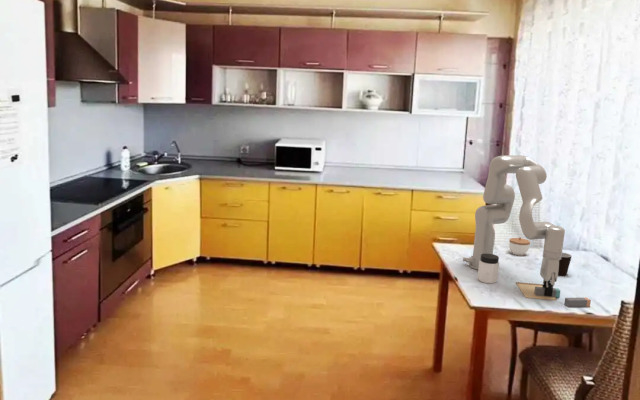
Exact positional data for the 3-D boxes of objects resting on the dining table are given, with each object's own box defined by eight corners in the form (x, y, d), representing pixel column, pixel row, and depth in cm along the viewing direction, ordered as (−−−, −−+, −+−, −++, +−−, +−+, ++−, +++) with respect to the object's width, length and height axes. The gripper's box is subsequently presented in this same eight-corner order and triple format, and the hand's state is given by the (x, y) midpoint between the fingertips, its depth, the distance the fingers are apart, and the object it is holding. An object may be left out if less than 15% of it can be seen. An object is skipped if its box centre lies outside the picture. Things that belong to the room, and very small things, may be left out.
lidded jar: (504, 250, 320) (506, 234, 318) (522, 251, 321) (525, 235, 320) (513, 256, 310) (515, 239, 308) (531, 257, 311) (534, 240, 309)
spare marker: (568, 307, 239) (569, 300, 239) (564, 304, 242) (565, 297, 242) (589, 306, 241) (590, 300, 241) (585, 304, 244) (586, 297, 243)
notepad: (525, 297, 248) (526, 296, 248) (515, 283, 266) (515, 282, 266) (556, 300, 247) (556, 299, 247) (544, 285, 265) (544, 284, 265)
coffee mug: (570, 277, 279) (573, 257, 277) (552, 275, 280) (554, 256, 278) (565, 270, 290) (568, 251, 288) (547, 268, 292) (550, 249, 290)
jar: (476, 281, 266) (479, 257, 263) (477, 276, 273) (480, 252, 271) (496, 284, 263) (499, 259, 261) (497, 279, 271) (499, 255, 268)
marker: (535, 295, 250) (536, 288, 250) (534, 292, 253) (535, 286, 253) (559, 297, 249) (560, 290, 249) (557, 295, 252) (558, 288, 252)
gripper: (538, 248, 256) (533, 287, 260) (548, 259, 240) (543, 300, 244) (555, 249, 255) (550, 288, 259) (567, 260, 239) (561, 301, 243)
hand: (546, 294), depth 251 cm, fingers closed on marker, 2 cm apart
